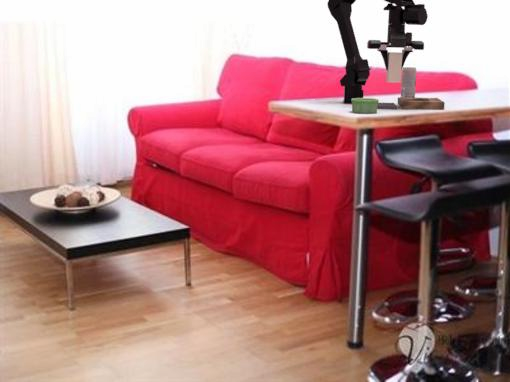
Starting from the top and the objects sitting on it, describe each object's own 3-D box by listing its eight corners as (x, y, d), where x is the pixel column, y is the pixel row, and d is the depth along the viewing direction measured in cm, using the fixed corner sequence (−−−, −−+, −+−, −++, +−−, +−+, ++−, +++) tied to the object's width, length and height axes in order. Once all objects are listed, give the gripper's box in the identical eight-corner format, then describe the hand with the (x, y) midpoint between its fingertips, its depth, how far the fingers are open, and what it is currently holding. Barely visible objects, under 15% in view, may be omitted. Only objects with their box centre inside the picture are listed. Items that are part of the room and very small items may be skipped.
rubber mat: (367, 108, 263) (367, 105, 263) (365, 105, 273) (365, 102, 272) (397, 109, 262) (397, 106, 262) (393, 105, 272) (393, 102, 272)
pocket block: (402, 109, 262) (403, 101, 262) (397, 104, 276) (397, 97, 275) (444, 109, 262) (444, 102, 261) (436, 104, 275) (437, 97, 275)
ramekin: (375, 111, 258) (376, 97, 257) (380, 114, 249) (380, 100, 248) (348, 110, 257) (349, 97, 256) (352, 114, 249) (353, 100, 248)
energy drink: (414, 98, 294) (415, 67, 292) (415, 100, 289) (417, 68, 286) (399, 98, 295) (401, 67, 292) (401, 100, 290) (402, 68, 287)
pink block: (387, 82, 264) (389, 53, 262) (386, 81, 268) (387, 52, 266) (400, 82, 264) (402, 53, 261) (398, 81, 268) (400, 52, 266)
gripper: (372, 24, 254) (369, 71, 257) (428, 25, 253) (425, 72, 257) (368, 23, 265) (365, 69, 268) (422, 24, 264) (419, 70, 268)
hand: (393, 70), depth 265 cm, fingers closed on pink block, 4 cm apart
